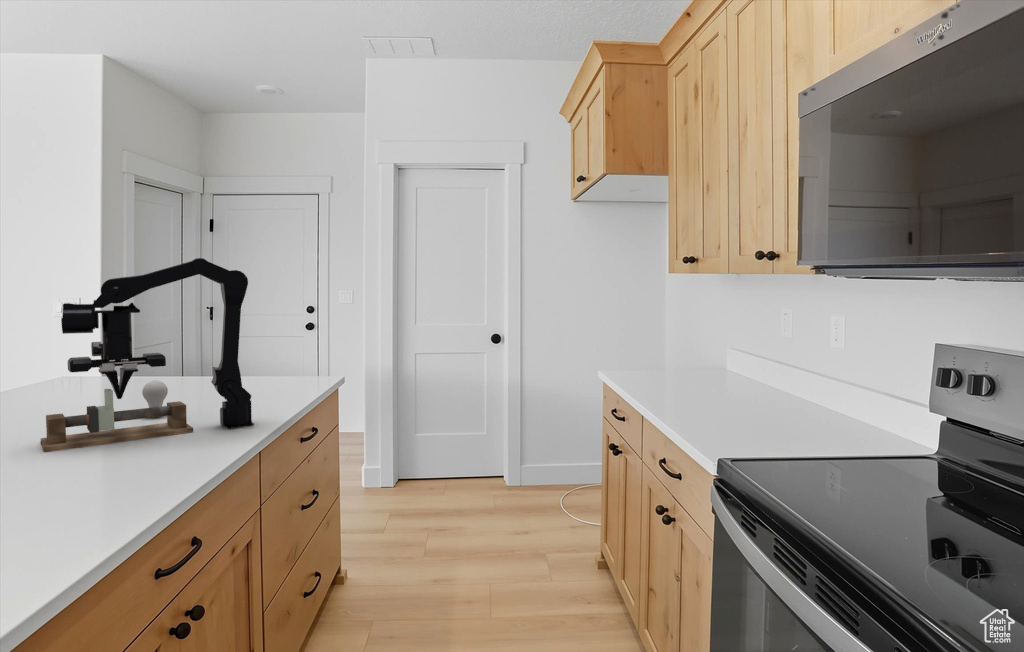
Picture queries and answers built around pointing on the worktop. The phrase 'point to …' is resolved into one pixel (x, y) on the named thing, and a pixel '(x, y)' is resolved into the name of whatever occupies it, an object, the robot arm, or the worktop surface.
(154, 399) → the light bulb
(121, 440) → the pipe stand
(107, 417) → the sleeve
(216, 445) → the worktop surface
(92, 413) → the dark grey angular piece
